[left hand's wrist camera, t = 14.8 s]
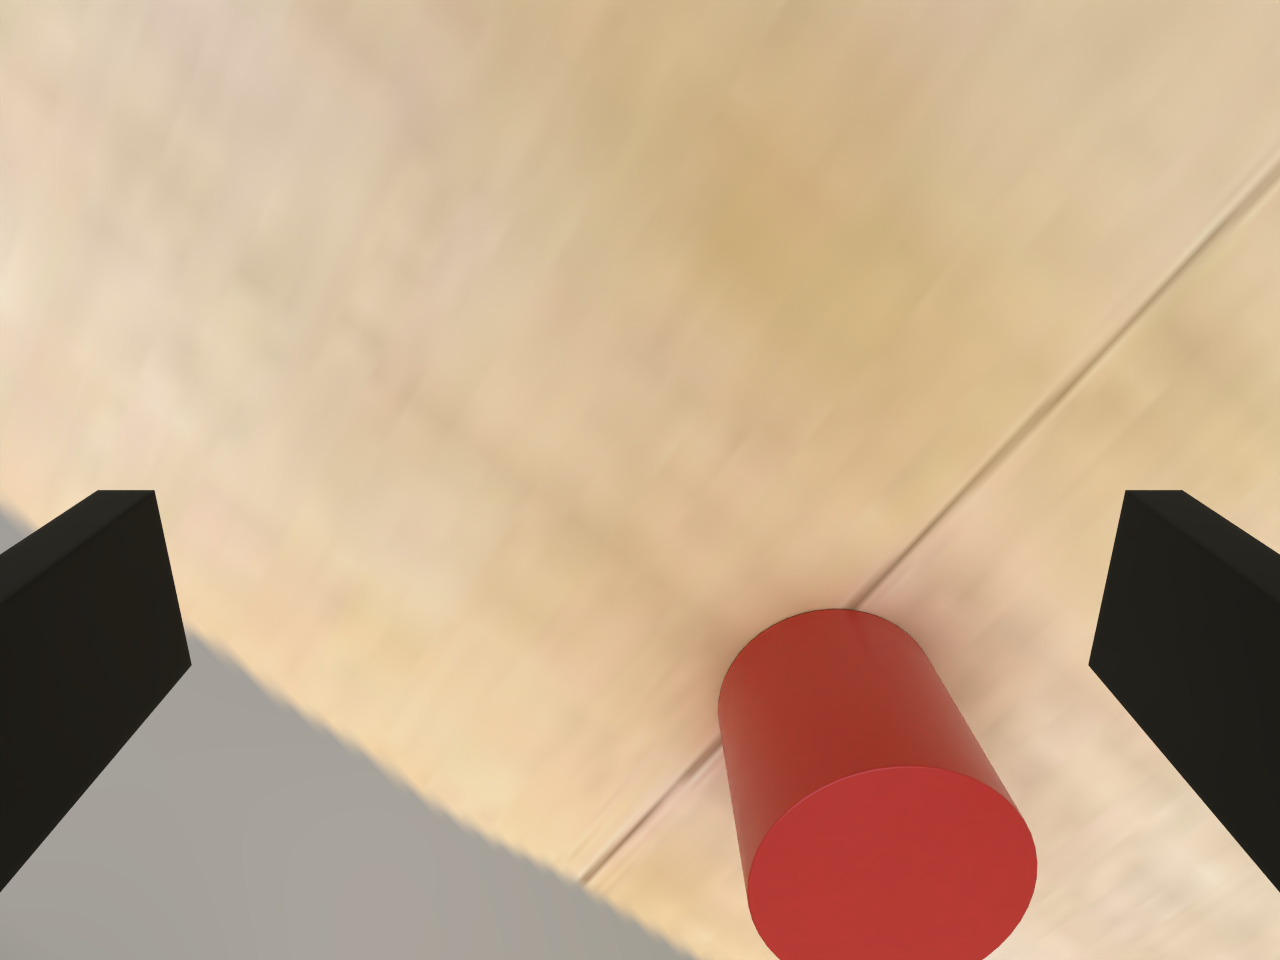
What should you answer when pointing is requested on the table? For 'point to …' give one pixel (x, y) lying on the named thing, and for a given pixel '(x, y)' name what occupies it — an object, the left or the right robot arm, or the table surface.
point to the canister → (866, 799)
